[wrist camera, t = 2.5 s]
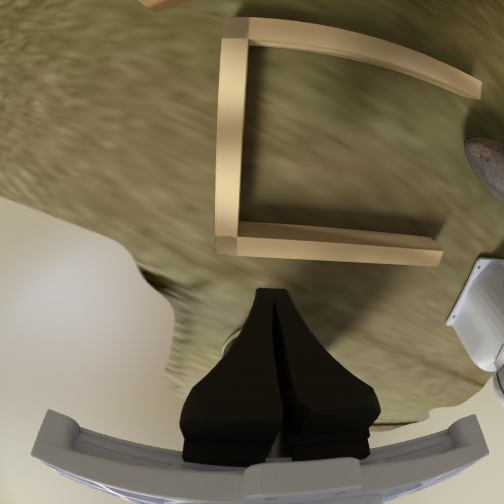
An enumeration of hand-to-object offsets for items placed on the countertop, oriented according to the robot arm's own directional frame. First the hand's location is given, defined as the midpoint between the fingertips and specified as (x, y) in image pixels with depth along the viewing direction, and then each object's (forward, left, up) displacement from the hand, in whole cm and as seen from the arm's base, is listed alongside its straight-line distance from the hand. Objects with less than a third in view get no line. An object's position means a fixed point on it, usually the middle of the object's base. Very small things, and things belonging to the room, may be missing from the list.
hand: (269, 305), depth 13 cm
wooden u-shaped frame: (+6, -6, -10) cm, 13 cm away
